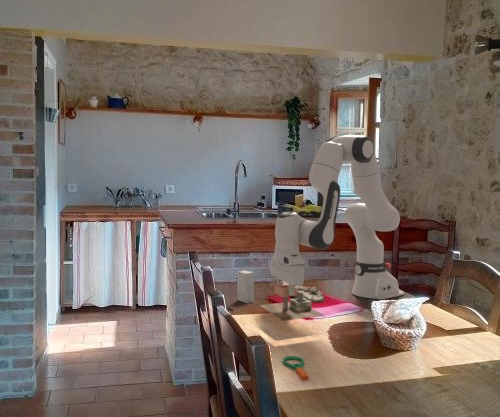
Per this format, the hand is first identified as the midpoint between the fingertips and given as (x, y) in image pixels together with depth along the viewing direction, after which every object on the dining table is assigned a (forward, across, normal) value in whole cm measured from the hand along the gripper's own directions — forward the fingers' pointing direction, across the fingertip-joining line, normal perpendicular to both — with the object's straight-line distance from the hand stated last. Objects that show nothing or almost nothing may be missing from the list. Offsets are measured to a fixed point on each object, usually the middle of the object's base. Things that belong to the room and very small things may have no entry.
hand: (285, 292), depth 198 cm
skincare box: (+8, -21, -7) cm, 24 cm away
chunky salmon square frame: (+1, 0, 0) cm, 1 cm away
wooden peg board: (+8, +1, +2) cm, 8 cm away
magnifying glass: (+9, +46, -21) cm, 52 cm away
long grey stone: (+9, -22, +18) cm, 30 cm away
